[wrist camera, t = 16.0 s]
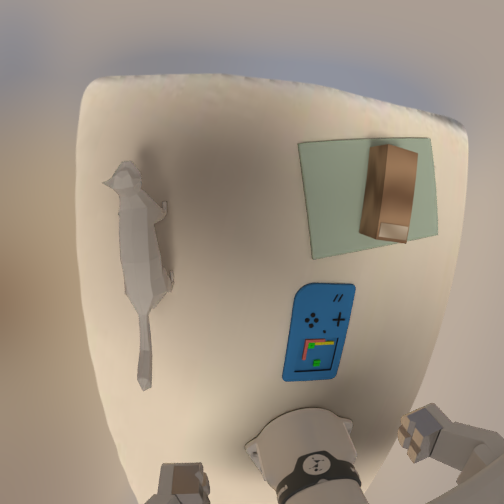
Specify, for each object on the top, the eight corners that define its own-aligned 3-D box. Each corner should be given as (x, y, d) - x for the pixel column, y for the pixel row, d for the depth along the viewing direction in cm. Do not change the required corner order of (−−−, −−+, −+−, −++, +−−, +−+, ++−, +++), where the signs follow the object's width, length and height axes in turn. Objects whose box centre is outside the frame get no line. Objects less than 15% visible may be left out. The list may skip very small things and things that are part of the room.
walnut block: (369, 147, 34) (388, 143, 30) (398, 155, 35) (418, 153, 31) (358, 232, 37) (376, 239, 32) (387, 236, 37) (407, 243, 33)
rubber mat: (435, 234, 39) (437, 234, 38) (312, 258, 37) (313, 259, 37) (427, 138, 36) (430, 138, 35) (297, 144, 34) (299, 143, 33)
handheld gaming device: (357, 285, 38) (336, 379, 41) (354, 283, 39) (333, 375, 42) (297, 284, 37) (282, 383, 40) (295, 281, 38) (280, 378, 41)
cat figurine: (167, 164, 33) (137, 152, 19) (181, 326, 37) (168, 396, 24) (130, 168, 32) (81, 160, 19) (148, 328, 37) (121, 395, 23)
